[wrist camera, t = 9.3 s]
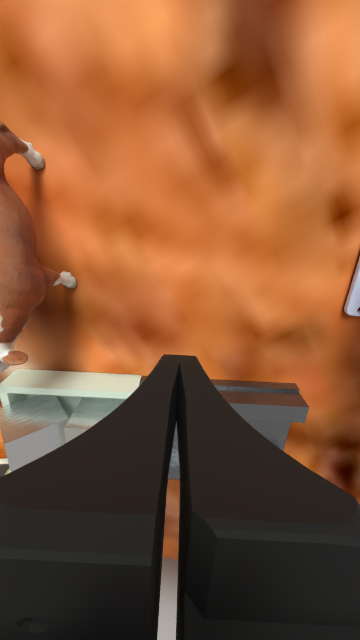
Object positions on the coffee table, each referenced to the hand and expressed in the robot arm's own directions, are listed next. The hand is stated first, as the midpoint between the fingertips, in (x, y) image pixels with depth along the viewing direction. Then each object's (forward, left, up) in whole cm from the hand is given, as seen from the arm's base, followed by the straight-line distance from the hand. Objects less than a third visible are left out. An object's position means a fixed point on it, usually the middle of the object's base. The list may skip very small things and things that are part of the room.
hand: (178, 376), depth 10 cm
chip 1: (+12, +10, -8) cm, 18 cm away
